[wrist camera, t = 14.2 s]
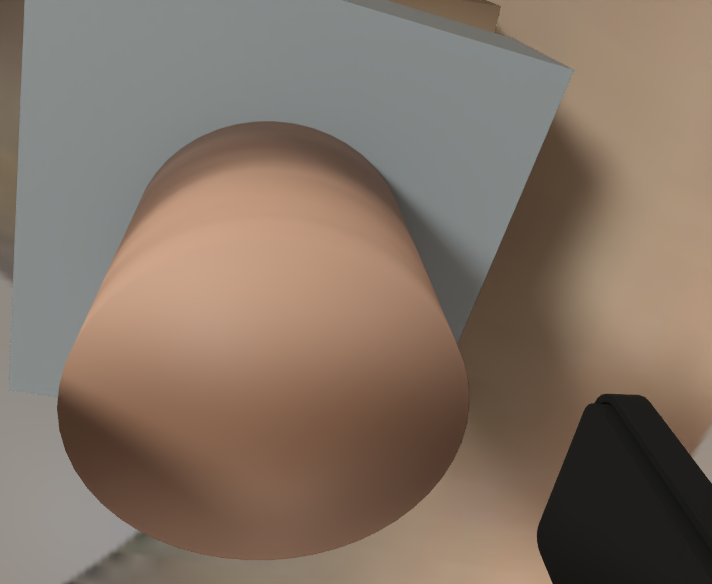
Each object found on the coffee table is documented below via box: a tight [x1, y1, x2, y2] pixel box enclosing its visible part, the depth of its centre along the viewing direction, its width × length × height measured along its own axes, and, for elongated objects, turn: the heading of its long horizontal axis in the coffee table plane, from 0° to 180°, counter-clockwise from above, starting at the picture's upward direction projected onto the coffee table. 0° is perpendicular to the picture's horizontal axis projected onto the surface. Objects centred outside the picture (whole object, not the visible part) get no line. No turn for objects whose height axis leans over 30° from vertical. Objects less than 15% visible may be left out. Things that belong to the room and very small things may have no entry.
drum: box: [57, 121, 469, 560], centre depth 13 cm, size 6×6×6 cm
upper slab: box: [9, 0, 574, 397], centre depth 17 cm, size 11×11×4 cm
